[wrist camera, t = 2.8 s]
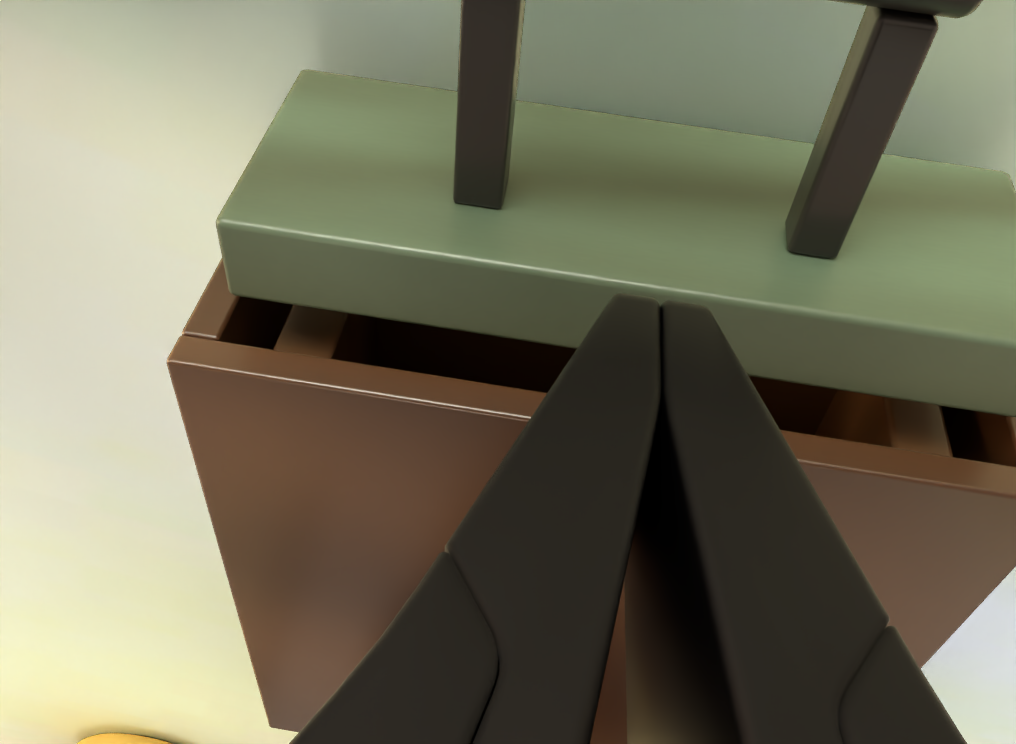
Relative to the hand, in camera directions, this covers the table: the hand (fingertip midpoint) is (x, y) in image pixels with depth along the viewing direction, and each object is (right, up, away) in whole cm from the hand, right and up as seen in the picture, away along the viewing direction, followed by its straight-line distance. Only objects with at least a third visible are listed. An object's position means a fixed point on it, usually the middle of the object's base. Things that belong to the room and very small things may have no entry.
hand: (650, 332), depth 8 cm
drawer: (0, +1, +7) cm, 7 cm away
